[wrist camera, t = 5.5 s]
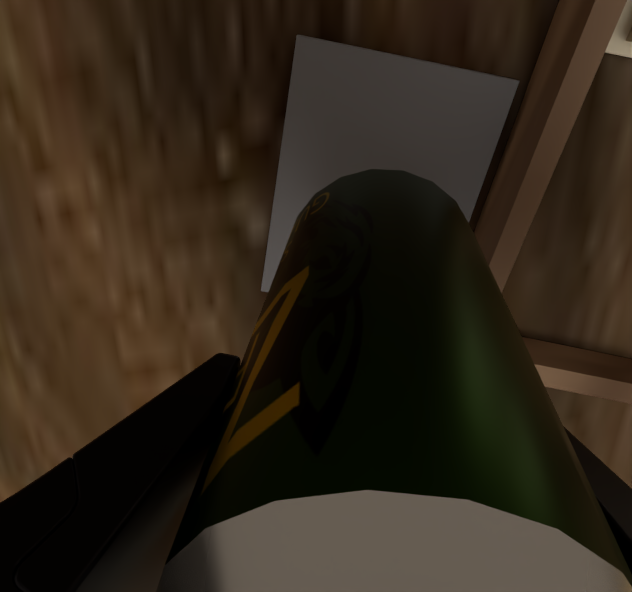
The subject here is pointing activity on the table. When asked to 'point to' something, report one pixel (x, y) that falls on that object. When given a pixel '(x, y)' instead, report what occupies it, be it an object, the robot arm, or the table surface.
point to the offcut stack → (622, 34)
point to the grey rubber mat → (381, 127)
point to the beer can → (390, 423)
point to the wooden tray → (536, 171)
